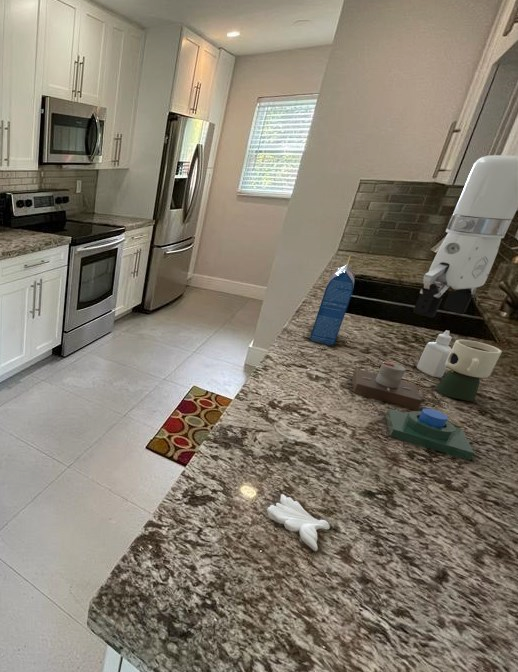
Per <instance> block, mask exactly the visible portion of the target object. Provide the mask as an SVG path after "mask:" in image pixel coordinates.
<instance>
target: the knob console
mask: <svg viewBox="0 0 518 672" xmlns="http://www.w3.org/2000/svg"><path fill="white" fill-rule="evenodd" d="M377 375H378V373H375V372H369V371H365V370H362V369H358V368H355V369H354V372H353V373H352V375H351V382H352V384H351V385H352V391H353V394H355V395H359V396H363V397H366V398H370V399H374V400H377V401H381V402H385V403H388V404H392V405H395V406H399V407H403V408H406V409H410V410H413V411H419V408H420V406H421V404H422V402H423V399H422V396H421V394H420V392H419V390H418V387H417V384H416V383H414V382H409V381H405V380H402V379H401V381H400V384H399V386H398V387H397V388H391V387H386V386H383V385H381V384H379V383H377V382H376V377H377Z"/></svg>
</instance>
